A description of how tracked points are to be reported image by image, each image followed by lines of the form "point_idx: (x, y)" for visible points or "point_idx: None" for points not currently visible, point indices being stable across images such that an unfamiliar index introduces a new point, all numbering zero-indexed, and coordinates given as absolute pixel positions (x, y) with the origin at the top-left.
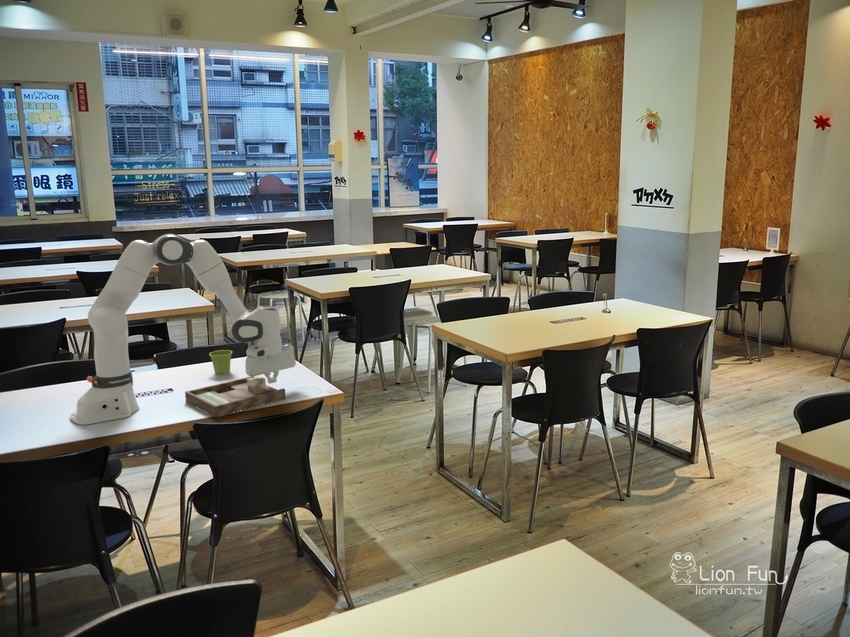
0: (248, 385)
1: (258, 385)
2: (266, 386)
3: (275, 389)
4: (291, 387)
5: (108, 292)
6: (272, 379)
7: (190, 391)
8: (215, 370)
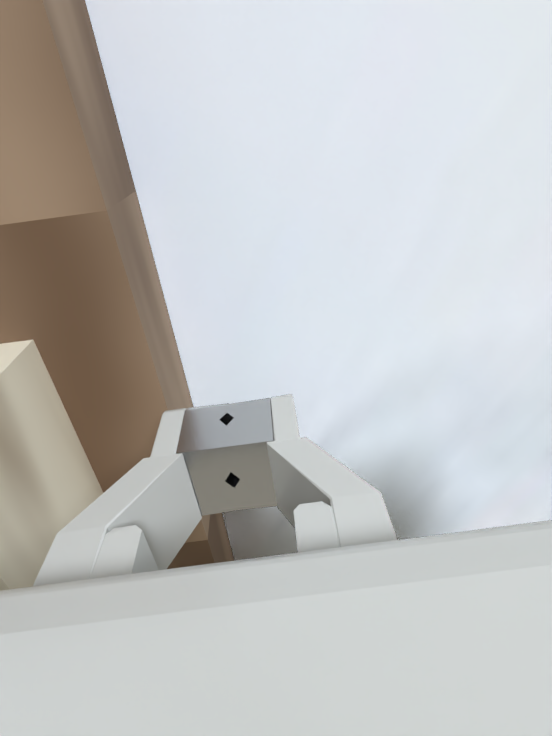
0: None
1: None
2: (135, 416)
3: (199, 556)
4: (485, 352)
5: None
6: (225, 502)
7: None
8: None
